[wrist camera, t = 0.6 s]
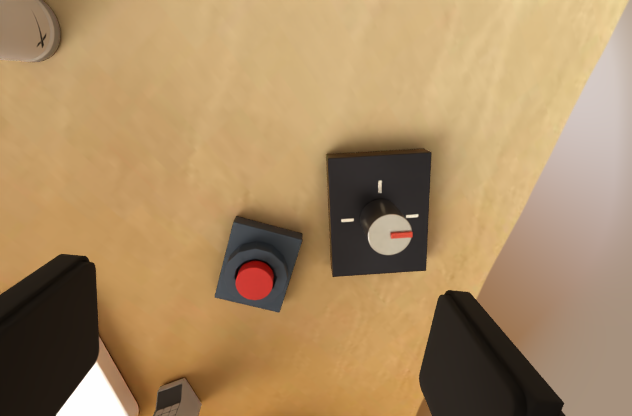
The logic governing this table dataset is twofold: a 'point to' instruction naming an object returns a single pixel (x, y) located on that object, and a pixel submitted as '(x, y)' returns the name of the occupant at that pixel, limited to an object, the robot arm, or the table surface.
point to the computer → (101, 392)
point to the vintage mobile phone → (177, 400)
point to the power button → (254, 280)
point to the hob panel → (366, 186)
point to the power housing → (264, 246)
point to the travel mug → (27, 30)
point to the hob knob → (385, 227)
